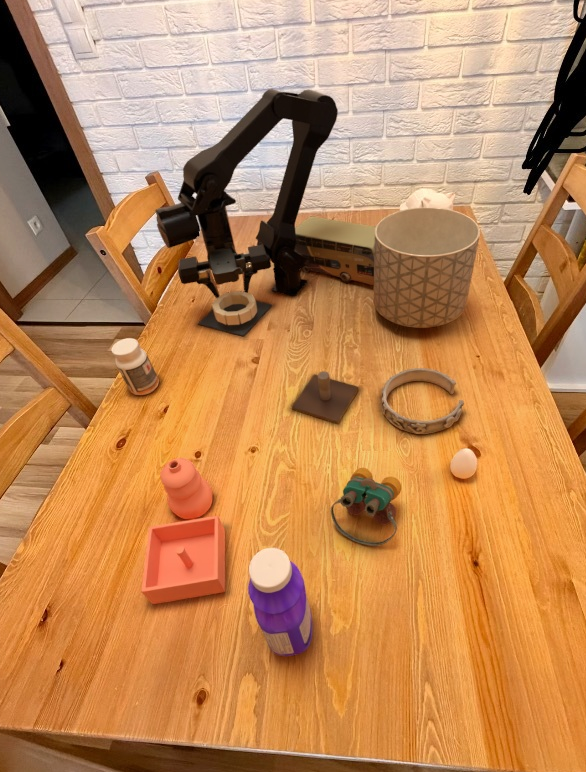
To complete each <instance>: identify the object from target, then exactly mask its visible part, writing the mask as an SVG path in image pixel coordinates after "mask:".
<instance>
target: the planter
mask: <svg viewBox="0 0 586 772" xmlns="http://www.w3.org/2000/svg"><path fill="white" fill-rule="evenodd" d="M375 227H376V228H375V241H374V285H373V305H374V308H375V309H376V311H377V313H378V314H379V315H381V316H382V318H384V319H386V320H387V321H389V322H391V323H393V324H396V325H399V326H402V327H403V326H404V327H409V328H417V329H418V328H419V329H426V328H434V327H441V326H443V325H446V324H449V323H451V322H453V321H455V320H456V319H458V318H459V317H460V316H462V314H463V313H464V312H465V310H466V308H467V303H468V299H469V293H470V289H471V283H472V279H473V278H472V277H473V273H474V267H475V261H476V257H477V253H478V252H477V251H478V247H479V246H478V245H479V242H480V236H481V229H480V226H479V224H478V223H477V222H476V221H475V220H474V219H473V218H472V217H470V216H468V215H466V214H465V213H462V212H460V211H457V210H454V209H453V210H450V209H444V208H436V207H419V208H410V209H405V210H401V211H400V210H397V211H394V212H392V213H390V214H388V215H386V216H384V217H383V218H382V219H381V220H380V221H379V222H378V223H377V224H376V226H375Z"/></svg>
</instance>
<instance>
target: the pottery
mask: <svg viewBox="0 0 586 772" xmlns="http://www.w3.org/2000/svg"><path fill="white" fill-rule="evenodd" d="M200 473H201V472H200V471H199V470H197V468H196V465H195V464H194V463H193V462H192V461H191V460H190V459H189V458H184V457H177V458H174V459H171V460H169V461H168V462H167V463H166V464H164V465H163V467H162V468H161V471H160V481H161V483H162V485H163V487H164V491H165V493H166V494H167V496H166V497H167V498H166V499H167V504H168V505H167V506H168V508H169V509H170V511H171V512H172V513H173V514H175V515H176V516H177V517H179V518H181V519H182V521H175V522H170V523H163V524H158V525H151V526H148V534H147V541H146V549H145V557H144V567H143V575H142V583H141V594H142V595H144V596H145V597H146V599H147V600H148V601H149V602H150V603H151V604H152V605H156V604H163V603H169V602H175V601H181V600H186V599H192V598H198V597H205V596H209V595H215V594H221V593H225V592H226V529H225V528H224V526H223V525H224V524H223V523H222V521H221V518H220V517H219V515H214V516H207V517H202V516H204V515H205V514H206V513H207V512H208V511H209V510H210V508H211V506H212V504H213V489H212V487H211V484H210V483H209V482H208V481H207V480H206V479H205V478H203V477H202V476H201V474H200Z"/></svg>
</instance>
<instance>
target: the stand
mask: <svg viewBox="0 0 586 772" xmlns="http://www.w3.org/2000/svg"><path fill="white" fill-rule="evenodd" d="M359 388H360V387H359V386H356V385H352V384H349V383H346V382H343V381H340V380H335V379H332V378H331V377H330V373H329V372H328V371H323V370H322V371H320V372H319V373H318V374H313V375H312V377H311V379H310V380H309V381H308V383H307V384H306V385H305V387H304V389H303V390H302V391H301V393H300V394H299V395H298V397H297V398H296V399H295V401H294V402H293V404H292V405H291V409H292V411H295V412H299V413H302V414H305V415H308V416H311V417H314V418H317V419H321V420H323V421H327V422H330V423H333V424H336V425H339V423H340V422H341V420H342V418H343V417H344V415H345V414H346V412H347V411H348V408H349V407H350V405H351V403H352V402H353V400H354V398H355V397H356V395H357V394H358V392H359V391H360V390H359Z"/></svg>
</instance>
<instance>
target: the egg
mask: <svg viewBox="0 0 586 772" xmlns="http://www.w3.org/2000/svg"><path fill="white" fill-rule="evenodd" d="M449 468H450V472H451V474H452V475H453V476H455V478H459V479H464V480H465V479H470V478H472V476H474V474H475V473H476V472H477V470H478V469H477V468H478V459H477V456H476V454H475V453H474V451H473V450H472V449H471V448H468V447H465V448H461V449H459V450H458V451H457V452H456V453H455V454H454V455H453V456H452V458H451V461H450V466H449Z"/></svg>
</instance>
